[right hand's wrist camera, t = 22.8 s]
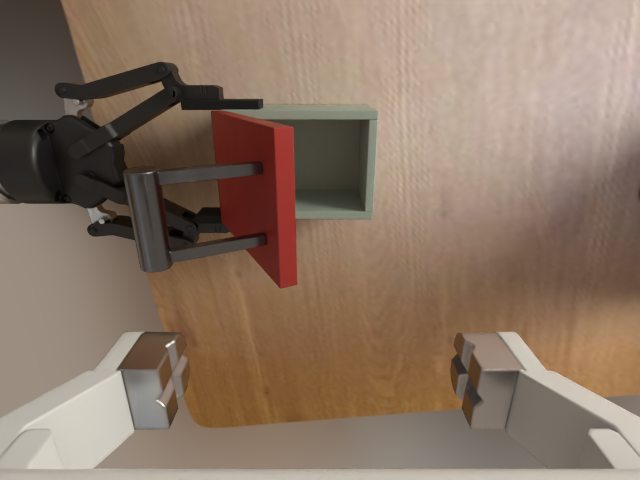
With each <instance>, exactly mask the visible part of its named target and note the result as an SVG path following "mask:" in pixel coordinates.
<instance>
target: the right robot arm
mask: <svg viewBox="0 0 640 480" xmlns="http://www.w3.org/2000/svg"><path fill="white" fill-rule="evenodd" d="M185 347H186V341H185V336H184V335H183V334H182V333H181V332H125V333H123V334H122V335H121V336H120V338H119V339H118V340H117V341H116V343H115V344H114V345H113V346H112V348H111V349H110V350H109V351H108V353H107V354H106V355H105V357H104V358H103V359H102V360H101V362H100V363H99V364H98V365H97V367H96V368H95V369H94V370H93V371H86V372H84V373H82V374H81V375H79V376H77V377H75V378H73V379H71V380H69V381H67V382H66V383H64V384H62V385H60V386H58V387H56V388H54V389H52V390H51V391H49V392H47V393H45V394H43V395H41V396H39V397H37V398H36V399H34V400H32V401H30V402H28V403H26V404H24V405H23V406H21V407H19V408H17V409H15V410H13V411H11V412H9V413H7V414H6V415H4V416H2V417H0V480H640V417H638V416H636V415H634V414H632V413H630V412H628V411H627V410H625V409H623V408H621V407H619V406H617V405H615V404H614V403H612V402H610V401H608V400H606V399H604V398H602V397H601V396H599V395H597V394H595V393H593V392H591V391H589V390H587V389H586V388H584V387H582V386H580V385H578V384H576V383H574V382H573V381H571V380H569V379H567V378H565V377H563V376H561V375H559V374H558V373H556V372H554V371H547V370H546V369H545V368H544V367H543V365H542V364H541V363H540V362H539V360H538V359H537V358H536V357H535V355H534V354H533V353H532V351H531V350H530V349H529V348H528V346H527V345H526V344H525V343H524V341H523V340H522V339H521V338H520V336H519V335H518V334H517V333H515V332H513V331H510V332H491V333H457V334H456V337H455V341H454V347H455V349H456V351H457V354H456V355H455V356H454V357H453V358H452V360H451V369H450V372H451V382H452V386H453V389H454V391H455V394H456V395H457V396H458V397H459V398H461V399H462V400H463V404H462V410H463V412H464V414H465V417H466V419H467V421H468V423H469V426H470V428H471V429H488V430H505V432H506V433H507V434H508V435H510V436H511V437H512V438H513V439H514V440H515V441H516V442H517V443H519V444H520V445H521V446H522V447H523V448H524V449H525V450H526V451H528V452H529V453H530V454H531V455H532V456H533V457H534V458H535V459H537V460H538V461H539V462H540V463H541V464H542V465H543V466H545V467H546V468H547V469H93V468H94V467H96V466H97V465H98V464H99V463H100V462H101V461H102V460H103V459H105V458H106V457H107V456H108V455H109V454H110V453H111V452H113V451H114V450H115V449H116V448H117V447H118V446H119V445H120V444H122V443H123V442H124V441H125V440H126V439H127V438H128V437H130V436H131V435H132V434H133V433H134V432H135V430H151V429H169V428H170V426H171V423H172V421H173V419H174V417H175V415H176V412H177V410H178V404H177V400H178V399H179V398H181V397H182V396H183V395H184V394H185V391H186V389H187V386H188V381H189V360H188V358H187V357H186V356H185V355H184V354H183V352H184V349H185Z"/></svg>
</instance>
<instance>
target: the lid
mask: <svg viewBox="0 0 640 480" xmlns="http://www.w3.org/2000/svg"><path fill="white" fill-rule="evenodd" d="M211 117H212V127H213V138H214V148H215V158H216V165H206V166H195V167H184V168H173V169H162V170H159V169H158V168H156V167H134V168H129V169H126V170H124V171H123V177H124V183H125V188H126V193H127V199H128V204H129V209H130V215H131V220H132V225H133V231H134V236H135V241H136V246H137V252H138V257H139V263H140V268H141V270H142V271H144V272H150V273H151V272H160V271H164V270H166V269H169V268H170V267H171V266H172V265H173V263H174V262H179V261H184V260H190V259H195V258H200V257H206V256H211V255H216V254H221V253H227V252H232V251H237V250H243V249H246V250H247V251H248V252H249V254H250V255H251V256H252V257H253V258H254V259H255V260H256V262H257V263H258V264H259V265H260V266H261V267H262V268H263V269H264V271H265V272H266V273H267V274H268V275H269V276H270V277H271V279H272V280H273V281H274V282H275V283H276V284H277V285H278V286H279V288H285V287H289V286H293V285H297V260H296V217H295V174H294V130H293V127H292V126H288V125H283V124H279V123H275V122H271V121H266V120H262V119H258V118H254V117H249V116H245V115H241V114H237V113H233V112H228V111H211ZM215 179H218V189H219V199H220V210H221V220H222V223H223V224H224V225H225V226H226V228H227V229H228V230H229V231H230V232H231V233H232V234H233V235H234V237H231V238H225V239H219V240H214V241H208V242H202V243H196V244H191V245H185V246H179V247H173V248H171V246H170V239H169V233H168V226H167V220H166V213H165V207H164V200H163V193H162V187H161V185H168V184H178V183H187V182H196V181H206V180H215Z"/></svg>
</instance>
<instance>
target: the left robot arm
mask: <svg viewBox="0 0 640 480" xmlns="http://www.w3.org/2000/svg"><path fill="white" fill-rule="evenodd" d="M158 82H162V84H163V86H164V88H165V89H163V90H162V91H160V92H158V93H157V94H155V95H154V96H152V97H150V98H149V99H147V100H146V101H144V102H142V103H141V104H139V105H138V106H136V107H134V108H133V109H131V110H130V111H128V112H126V113H125V114H123V115H122V116H120V117H118V118H117V119H115V120H114V121H112V122H110V123H108V124H106V125H104V126H102V127H100V126H99V125H97V124H96V123H94V122H92V121H91V120H89V119H88V118H86V117H85V116H83V111H84V110H85V109H86V108H91V107H92V106H93V103H94V99H100V98H106V97H110V96H114V95H117V94H120V93H124V92H127V91H131V90H134V89H138V88H141V87H145V86H148V85H151V84H155V83H158ZM55 92H56V94H57V95H58V96H59V97H61V98H63V100H64V107H65V114H66V115H65V116H63V117H62V118H60V119H58V120H14V121H8V120H0V203H1V204H19V203H31V204H44V203H45V204H47V203H48V204H49V203H51V204H65V203H73V204H77V205H79V206H81V207H84V208H87V210H88V214H89V217H90V220H91V223H92V224H91V225H89V226H88V228H87V231H88V233H89V234H90V235H91V236H107V235H115V236H119V237H124V238H128V239H132V240H135V236H134V231H133V225H132V220H131V217H129V216H121V215H120V216H116V215H117V214H116V212H114V211H110V210H106V209H104V208H103V207H102V203H103V202H105V201H106V200H107V199H109V200H111V201H113V202H115V203H118V204H125V205H128V206H129V204H128V199H127V193H126V188H125V183H124V177H123V171H124V170H126V169H128V168H127V166H126V164H125V162H124V154H125V151H124V146H123V144H120V142H119V140H121V139H122V138H124V137H126V136H127V135H129V134H130V133H131V132H132V131H134V130H136V129H137V128H139V127H140V126H142V125H144V124H145V123H147V122H149V121H150V120H152V119H154V118H155V117H157V116H158V115H160V114H162V113H163V112H165V111H167V110H168V109H170V108H171V107H173V106H175V105H176V104H178V103H180V102H181V107H182V110H259V109H261V108H263V99H224V98H223V88H222V87H220V86H217V85H187V84H185V83H183V81H182V80H181V78H180V76H179V74H178V68H177V66H176V65H175V64H172V63H166V62H157V63H154V64H150V65H147V66H144V67H140V68H137V69H134V70H130V71H127V72H123V73H120V74H117V75H113V76H110V77H107V78H103V79H100V80H97V81H93V82H90V83H86V84H85V83H58V84H56V86H55ZM163 200H164V207H165V213H166V220H167V224H168V225H170V226H168V225H167V226H168V233H169V239H170V246H171V248H173V247H179V246H185V245H191V244H195V243H196V242H197V241H198V239H199V233H227V232H230V231H229V230H228V229H227V228H226V226H225V225H224V224H223V223H222V220H221V210H220V207H203V208H202V209H201V210H200V211H199V212H198V213H197V214H196V213H194V212H192V211H190V210H188V209H185V208H183V207H181V206H179V205H177V204H175V203H173V202H171V201H169V200H167V199H165V198H163Z"/></svg>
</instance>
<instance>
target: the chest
mask: <svg viewBox="0 0 640 480" xmlns="http://www.w3.org/2000/svg"><path fill="white" fill-rule="evenodd" d="M220 111H228V112H233V113H237V114H241V115H245V116H249V117H254V118H258V119H262V120H266V121H271V122H275V123H279V124H283V125H288V126H292V127H293V130H294V174H295V217H296V219H373V202H374V183H375V164H376V146H377V127H378V110H376V109H374V108H372V107H370V106H368V105H266V104H263V108H261V109H259V110H220Z"/></svg>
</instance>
